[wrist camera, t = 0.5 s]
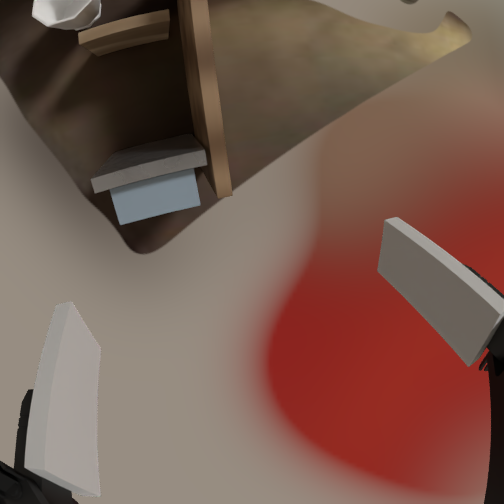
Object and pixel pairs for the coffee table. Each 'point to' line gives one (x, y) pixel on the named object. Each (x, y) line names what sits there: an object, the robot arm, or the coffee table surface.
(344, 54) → the coffee table surface
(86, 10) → the cup
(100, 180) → the bookend
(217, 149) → the shelf wall
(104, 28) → the divider
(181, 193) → the shelved book
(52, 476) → the robot arm
